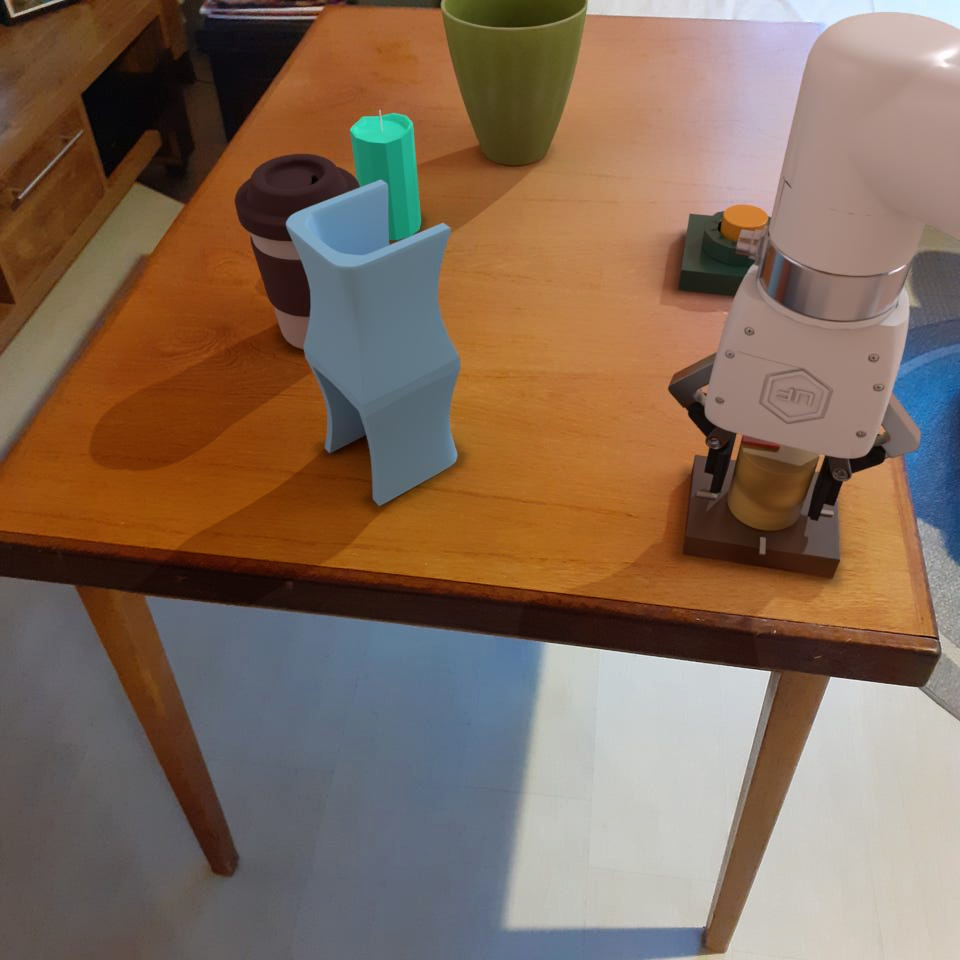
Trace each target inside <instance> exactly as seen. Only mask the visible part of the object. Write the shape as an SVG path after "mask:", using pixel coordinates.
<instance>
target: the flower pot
mask: <svg viewBox="0 0 960 960" xmlns="http://www.w3.org/2000/svg"><path fill="white" fill-rule="evenodd" d="M588 5H589V0H441V2H440V11H441V15H442V21H443V22H442V23H443V26H444V32H445V37H446V41H447V48H448V50H449V55H450V56H449V57H450V59H451V63H452V68H453V71H454V75H455V79H456V82H457V85H458V88H459V89H458V90H459V92H460V95H461V98H462V102H463V105H464V108H465V109H466V113H467V116H468V118H469V121H470V125H471V127H472V129H473V132H474V134H475V136H476V139H477V141H478V144H479V146H480V149H481V151H482V153H483V155H484V156H485V158H486V159H488V160H489V161H492V162H493V163H496V164H498V165H504V166H525V165H529V164H533V163H536V162H539V161H540V160H542V159H543V158H545V156H547V154H548V152H549V150H550V147H551V145H552V142H553V140H554V139H555V136H556V133H557V130H558V127H559V125H560V122H561V119H562V116H563V113H564V110H565V107H566V104H567V100H568V99H569V98H568V97H569V95H570V94H569V93H570V91H571V88H572V83H573V79H574V76H575V73H576V72H575V71H576V68H577V63H578V60H579V55H580V50H581V44H582V38H583V33H584V28H585V22H586V17H587V11H588Z"/></svg>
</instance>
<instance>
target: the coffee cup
mask: <svg viewBox="0 0 960 960" xmlns="http://www.w3.org/2000/svg"><path fill="white" fill-rule="evenodd" d="M357 188H360V185H359V182H358V181H357V178H356V176H355V175H353V174H352V173H351V172H350V171H348V170H346V169H345V168H342V167H340V166H337V165H336V164H335V163H334V162H333V161H332V160H330V159H329V158H326V157H324V156H321V155H318V154H312V153H292V154H291V153H290V154H285V155H281V156H277V157H273V158H271V159H269V160H266V161H264V162H263V163H261V164H260V165H259V166H257V167H256V168H255V169H254V171H253V172H252V173H251V175H250V178H248V179H246V180H245V181H244V182H243V183H242V184H241V185H240V186H239V188H238V189H237V191H236V193H235V196H234V206H235V210H236V214H237V218H238V221H239V224H241V226H242V228H244V230H246V231H247V232H249V233H250V246H251V248H252V251H253V254H254V258H255V261H256V264H257V267H258V270H259V274H260V278H261V280H262V282H263V286H264V289H265V293H266V296H267V298H268V300H269V302H270V304H271V305H272V306H273V310H274V313H275V317H276V319H277V322H278V325H279V328H280V332H281V334H282V336H283V338H284V339H285V341H286V342H287V343H289V344H290V345H291V346H293V347H294V348H297V349H300V350H303V351H304V348H303V347H304V342H305V338H306V334H307V330H308V325H309V320H310V309H311V298H310V287H309V283H308V279H307V275H306V272H305V270H304V267H303V264H302V261H301V259H300V257H299V254H298V252H297V250H296V247H295V245H294V243H293V241H292V239H291V236H290V234H289V232H288V230H287V227H286V222H287V220H288V218H289V217H290V216H291V215H292V214H294V213H296V212H298V211H301V210H303V209H305V208H308V207H310V206H313V205H316V204H318V203H321V202H323V201H326V200H329V199H331V198H334V197H337V196H339V195H342V194H344V193H347V192H350V191H352V190H355V189H357Z"/></svg>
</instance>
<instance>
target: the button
mask: <svg viewBox="0 0 960 960" xmlns="http://www.w3.org/2000/svg"><path fill="white" fill-rule="evenodd" d="M723 211H724V213H723V218H722V224H721V229H720V231H721V234H722V235H723V236H724V237H725V238H728V239H730V240H733V241H736V242H738V239H739V235H740V232H741V230H742V229H743V230H749V231H754V232H755V230H756V229H757V230H762V231H763V228H764V225H767V222H768V216H769V215H768V214H767V212H766V211H765V210H764V209H762V208H760V207H758V206H756V205H751V204H735V205H731V206H729V207H727V208H725V210H723Z"/></svg>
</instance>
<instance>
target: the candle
mask: <svg viewBox="0 0 960 960" xmlns="http://www.w3.org/2000/svg"><path fill="white" fill-rule="evenodd" d="M378 114H379V115H377V116H376V115H375V116H372V115H371V116H370V115H369V116H368V115H367V116H362V117H360V118H359V119H358V121H356V122H355V123H354V124H353V125H352V126H351V127H350V129H349V134H350V141H351V148H352V155H353V163H354V169H355V178H356V179H357V181H358V182H359V185H360V187H363V186H365V185H368V184H370V183H373V182H376V181H378V180H383V181H384V182H385V183H387V184H388V230H389V241H396V242H397V241H401V240H403V239H405V238H408V237H410V236H413V235H415V234H417V232H419V231H420V228H421V226H422V214H421V211H422V210H421V201H420V200H421V199H420V190H419V188H420V187H419V179H418V178H419V177H418V166H417V153H416V142H415V129H414V122H413V121H412V120H411V119H410V118H409V116H408V115H405V114H401V113H397V112H392V113H387V114H383V115H382V112H381V109H379V110H378Z"/></svg>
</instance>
